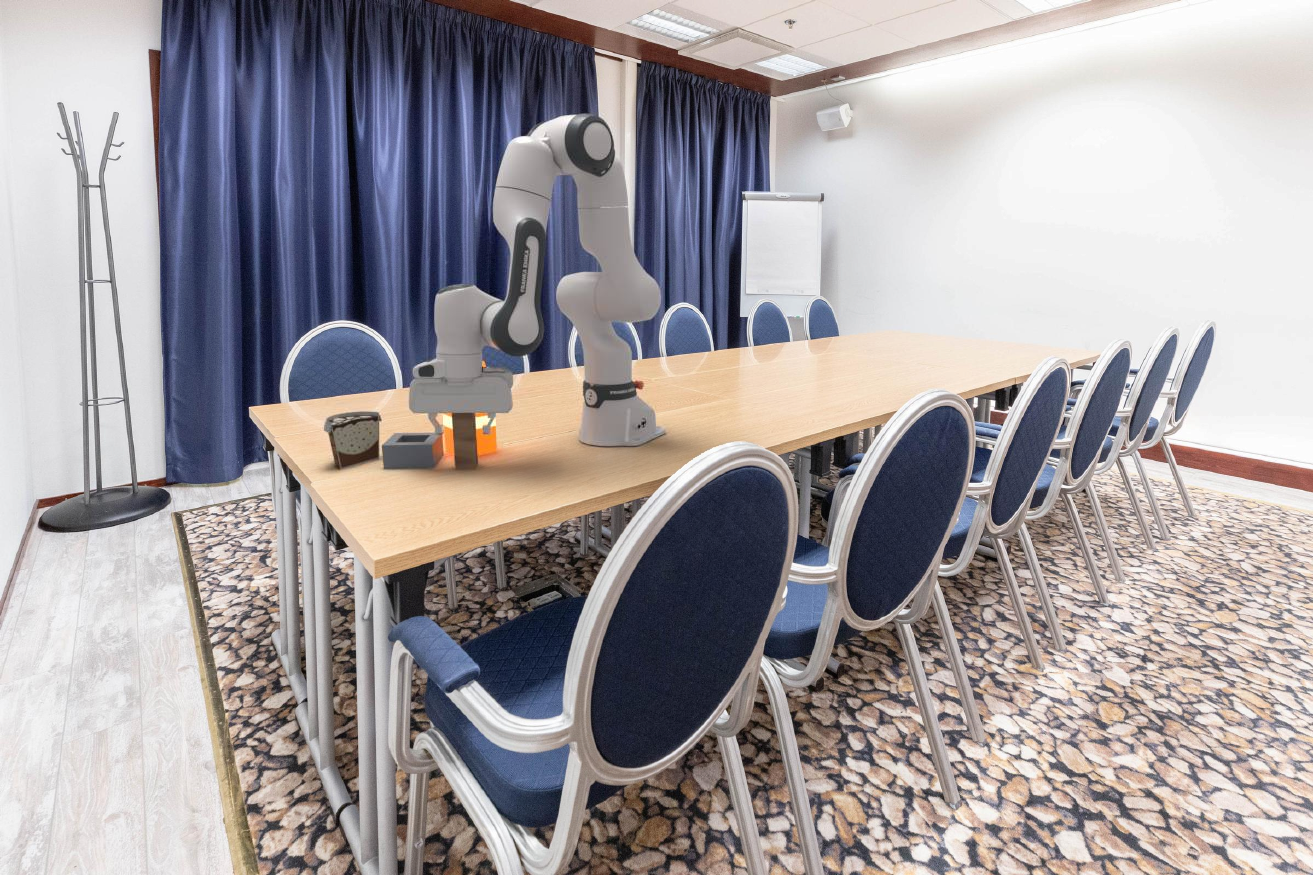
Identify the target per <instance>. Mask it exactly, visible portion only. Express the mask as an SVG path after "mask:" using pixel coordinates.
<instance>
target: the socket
mask: <svg viewBox="0 0 1313 875" xmlns="http://www.w3.org/2000/svg"><path fill="white" fill-rule="evenodd" d="M443 438H444V436H443V435H435V432H394V433H393V434H392V435H391V436H390V437H389V438H388V439H387V440H386V441H384V442H383V443H382V444H381V454H382V463H383V469H384V470H395V469H399V470H402V469H405V470H407V469H435V467H436V466H437V465H438V464H439V462H440V460H441V459H442V457H443V456H444V454H445V453H444V452H445V451H444V441H443Z"/></svg>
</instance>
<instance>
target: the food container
mask: <svg viewBox="0 0 1313 875" xmlns="http://www.w3.org/2000/svg"><path fill="white" fill-rule="evenodd" d="M382 421H383V420H382V417H381V414H380V412H378V411H370V410H369V411H368V410H367V411H350V412H349V411H348V412H343V413H336V414H333V415H330V416H328V417H326V418H325V422H324V427H323V431H324V432H326V433H327V434H328V437H329V439H328V440H329V442H330V447H331V448H330V449H331V452H332V457H333V461H334V465H335V468H336V469H338V470H343V469H347V468H352V467H354V466H355V467H356V466H358V465H362V464H365V463H368V462H372V461H375V460H379V459H380V422H382Z"/></svg>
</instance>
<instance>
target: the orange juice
mask: <svg viewBox="0 0 1313 875" xmlns="http://www.w3.org/2000/svg"><path fill="white" fill-rule="evenodd" d="M482 363H483V367H487V366H486V362H485V360H482ZM475 417H476V435H477V452H478V456H481V455H482V456H483V455H487V454H491V453H497V452H498V449H497V448H498V446H497V428H496V426H497V422H496V417H497V416H496V417H495V418H494V420H493V422H492V424H491V434H483V430H482V426H483V425H487V424H488V422H489V420H490V419H491V418H488V416H487V413H475ZM442 422H443V424H442V425H444V428H443V429H444V434H443V436H444V445H445V446H444V447H445V448H444V449H445V452H447V453H448V454H451V455H453V456H454V443H453V428H452V413H442Z"/></svg>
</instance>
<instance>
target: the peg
mask: <svg viewBox="0 0 1313 875" xmlns="http://www.w3.org/2000/svg"><path fill="white" fill-rule="evenodd" d="M452 428H453V443H454V455H453V456H454V457H453V458H454V470H472V469H473V470H476V469H477V466H478V464H479V455H478V452H477V435H476V417H475V413H452Z"/></svg>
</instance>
